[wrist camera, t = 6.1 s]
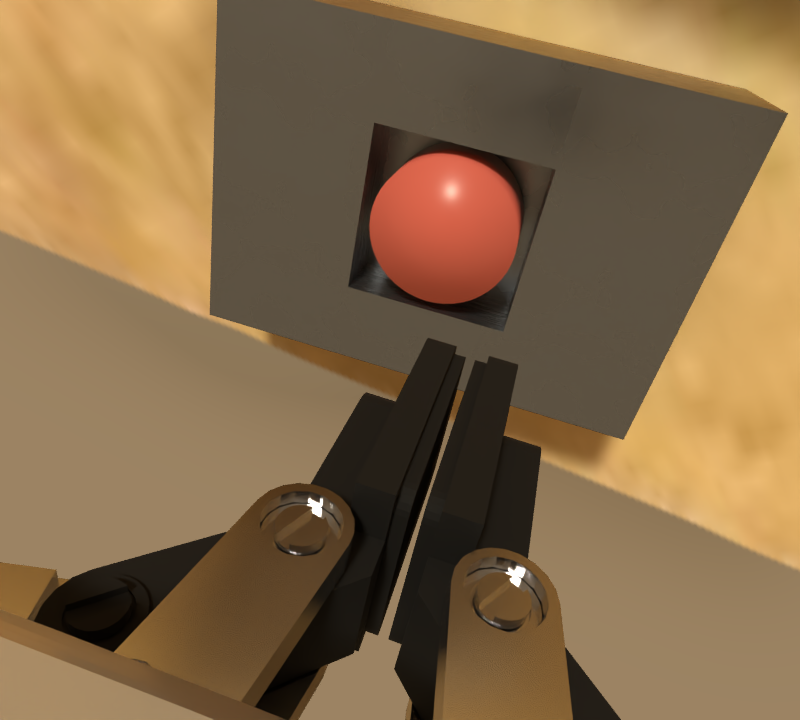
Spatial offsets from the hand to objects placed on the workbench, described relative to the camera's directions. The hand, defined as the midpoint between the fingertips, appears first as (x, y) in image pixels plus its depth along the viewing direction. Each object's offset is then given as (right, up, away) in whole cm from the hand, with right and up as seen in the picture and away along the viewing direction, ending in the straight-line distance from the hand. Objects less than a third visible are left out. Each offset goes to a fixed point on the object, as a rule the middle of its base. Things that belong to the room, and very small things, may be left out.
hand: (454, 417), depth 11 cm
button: (+1, +8, +16) cm, 18 cm away
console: (+2, +9, +19) cm, 21 cm away
